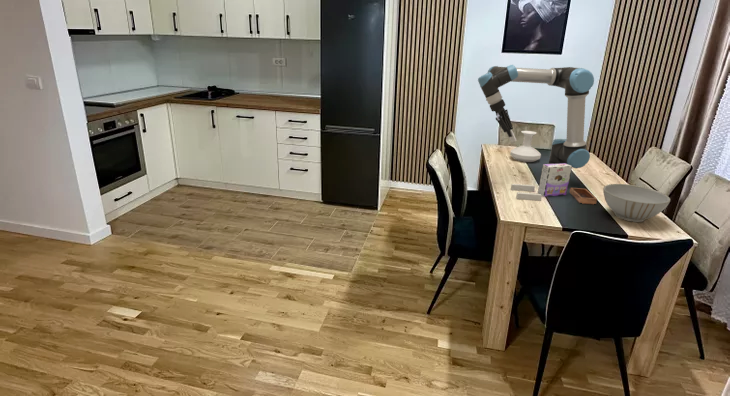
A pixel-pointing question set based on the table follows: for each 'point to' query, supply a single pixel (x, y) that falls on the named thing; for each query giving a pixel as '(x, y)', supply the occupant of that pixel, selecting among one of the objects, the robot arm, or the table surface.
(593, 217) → the table surface
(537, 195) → the walled channel
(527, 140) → the candle holder
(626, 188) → the decorative bowl
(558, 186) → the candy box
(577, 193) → the tray
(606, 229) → the table surface
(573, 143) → the robot arm
